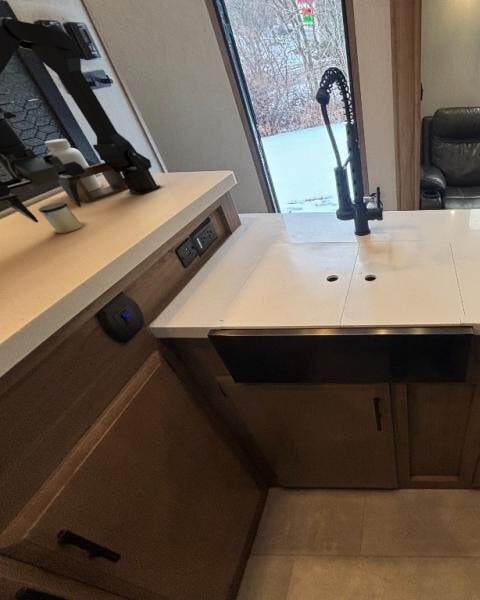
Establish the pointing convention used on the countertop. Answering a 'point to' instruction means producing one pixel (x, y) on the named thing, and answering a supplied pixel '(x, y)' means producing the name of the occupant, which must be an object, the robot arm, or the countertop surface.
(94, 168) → the frame
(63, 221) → the spice tin
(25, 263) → the countertop surface
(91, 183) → the pill bottle
